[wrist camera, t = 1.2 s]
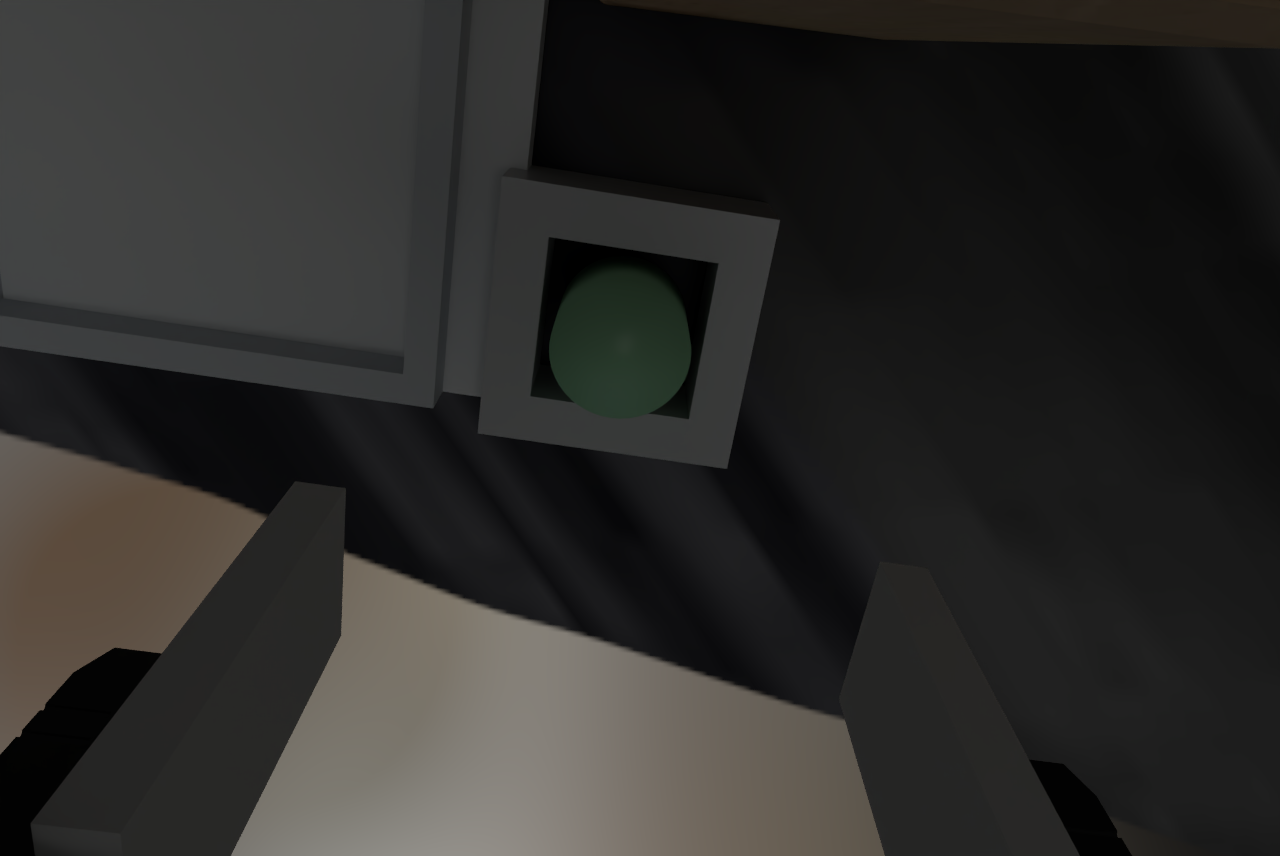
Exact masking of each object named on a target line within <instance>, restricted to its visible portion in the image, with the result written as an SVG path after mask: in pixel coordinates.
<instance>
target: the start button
mask: <svg viewBox="0 0 1280 856" xmlns="http://www.w3.org/2000/svg"><path fill="white" fill-rule="evenodd" d="M549 356H550V363H551V368H552V371H553V373H554V376H555V378H556V380H557V382H558V384H559V386H560V387H561V388H562V390H563V391H564V393H565V394H566V395H567V396H568V397H569V398H570V399H571V400H572V401H574V402H575V403H576V404H577V405H579V406H580V407H582V408H583V409H585V410H587V411H589V412H591V413H594V414H597V415H600V416H603V417H608V418H618V419H623V418H633V417H638V416H642V415H645V414H648V413H650V412H652V411H655V410H656V409H658V408H660V407H661V406H663V405H664V404H665V403H667V402H668V401H669V400H670V399H671V398H672V397H673V396H674V395H675V394H676V393H677V391H678V390H679V389H680V387H681V386H682V384H683V382H684V380H685V378H686V376H687V373H688V370H689V366H690V361H691V342H690V336H689V329H688V323H687V316H686V310H685V304H684V301H683V297H682V295H681V293H680V290H679V288H678V287H677V285H676V284H675V282H674V281H673V280H672V278H671V277H670V276H669V275H668V274H667V273H666V272H665V271H664V270H662V269H661V268H659V267H658V266H657V265H655V264H653V263H651V262H649V261H647V260H644V259H641V258H637V257H633V256H612V257H607V258H603V259H600V260H598V261H595V262H593V263H591V264H589V265H588V266H586V267H585V268H583V269H582V270H581V271H580V272H579V273H577V275H576V276H575V277H574V278H573V279H572V280H571V282H570V283H569V285H568V286H567V288H566V290H565V292H564V294H563V297H562V300H561V303H560V306H559V310H558V313H557V316H556V320H555V323H554V326H553V330H552V333H551V338H550V343H549Z"/></svg>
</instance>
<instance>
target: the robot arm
mask: <svg viewBox="0 0 1280 856" xmlns="http://www.w3.org/2000/svg"><path fill="white" fill-rule="evenodd" d="M345 496H346V488H340V487H332V486H325V485H318V484H310V483H303V482H296V481H295V483H294V484H293V485H292V486H291V488H290V489H289V490H288V492H287V493H286V494H285V495H284V497H283V498H282V499H281V501H280V502H279V503H278V505H277V506H276V507H275V508H274V510H273V511H272V512H271V514H270V515H269V516H268V517H267V519H266V520H265V521H264V523H263V524H262V525H261V527H260V528H259V529H258V530H257V532H256V533H255V534H254V536H253V537H252V538H251V539H250V541H249V542H248V543H247V545H246V546H245V547H244V548H243V550H242V551H241V552H240V554H239V555H238V556H237V557H236V559H235V560H234V561H233V563H232V564H231V565H230V566H229V568H228V569H227V570H226V572H225V573H224V574H223V576H222V577H221V578H220V579H219V581H218V582H217V584H216V585H215V586H214V587H213V588H212V590H211V591H210V592H209V594H208V595H207V596H206V598H205V599H204V600H203V601H202V603H201V604H200V605H199V607H198V608H197V609H196V610H195V612H194V613H193V614H192V616H191V617H190V618H189V620H188V621H187V622H186V623H185V625H184V626H183V627H182V628H181V630H180V631H179V632H178V634H177V635H176V636H175V638H174V639H173V640H172V641H171V643H170V644H169V645H168V647H167V648H166V649H165V650H164V652H163V653H162V654H160V653H152V652H145V651H137V650H129V649H121V648H114V649H112V650H110V651H109V652H107V653H105V654H104V655H102V656H100V657H98V658H97V659H95V660H93V661H92V662H90V663H89V664H87V665H85V666H84V667H82V668H80V669H79V670H77V671H75V672H74V673H73V674H72V675H71V676H70V677H69V678H68V679H67V680H66V681H65V683H64V684H63V685H62V686H61V687H60V688H59V689H58V690H57V692H56V693H55V694H54V695H53V696H52V697H51V699H49V701H48V702H47V703H46V705H45V709H44V710H43V711H42V710H40V711H39V712H38V713H37V714H36V715H35V716H34V718H33V719H32V720H31V721H30V722H29V723H28V724H27V725H26V726H25V728H24V729H23V730H22V734H21V736H20V737H16V738H15V739H14V740H13V741H12V742H11V743H10V744H9V746H8V747H7V748H6V749H5V750H4V751H3V752H2V753H1V754H0V856H231V854H232V852H233V850H234V848H235V846H236V844H237V842H238V840H239V838H240V836H241V834H242V832H243V830H244V828H245V826H246V824H247V822H248V820H249V818H250V816H251V814H252V812H253V810H254V808H255V806H256V804H257V802H258V800H259V798H260V796H261V794H262V792H263V790H264V788H265V786H266V784H267V782H268V780H269V778H270V776H271V774H272V772H273V770H274V768H275V766H276V764H277V762H278V760H279V758H280V756H281V754H282V752H283V750H284V748H285V746H286V744H287V742H288V740H289V738H290V736H291V734H292V732H293V730H294V728H295V726H296V724H297V722H298V720H299V718H300V716H301V714H302V712H303V710H304V708H305V706H306V704H307V702H308V700H309V698H310V696H311V694H312V692H313V690H314V688H315V686H316V684H317V682H318V680H319V678H320V676H321V674H322V672H323V670H324V668H325V666H326V664H327V662H328V660H329V658H330V656H331V654H332V652H333V650H334V648H335V646H336V644H337V642H338V640H339V638H340V636H341V618H342V587H343V558H344V527H345ZM839 701H840V705H841V708H842V711H843V715H844V718H845V721H846V725H847V728H848V732H849V735H850V738H851V742H852V745H853V748H854V752H855V755H856V759H857V762H858V766H859V769H860V772H861V775H862V779H863V782H864V785H865V789H866V792H867V796H868V799H869V803H870V806H871V809H872V813H873V816H874V819H875V823H876V827H877V830H878V833H879V836H880V840H881V843H882V847H883V850H884V854H885V856H1132V855H1131V853H1130V852H1129V850H1128V848H1127V847H1126V845H1125V844H1124V842H1123V840H1122V838H1118V837H1117V830H1116V828H1115V827H1114V825H1113V823H1112V821H1111V820H1110V818H1109V816H1108V815H1107V813H1106V811H1105V810H1104V808H1103V806H1102V805H1101V803H1100V801H1099V800H1098V798H1097V796H1096V795H1095V794H1094V793H1093V792H1092V791H1091V790H1090V789H1089V788H1087V787H1086V786H1085V785H1084V784H1083V783H1082V782H1081V781H1080V780H1079V779H1078V778H1077V777H1076V776H1075V775H1074V774H1073V773H1072V772H1071V771H1070V770H1069V769H1068V768H1067V767H1066V766H1065V765H1064V764H1059V763H1051V762H1043V761H1035V760H1029V759H1028V757H1027V755H1026V753H1025V752H1024V750H1023V748H1022V746H1021V744H1020V742H1019V740H1018V738H1017V737H1016V735H1015V733H1014V731H1013V729H1012V727H1011V725H1010V723H1009V722H1008V720H1007V718H1006V716H1005V714H1004V712H1003V710H1002V708H1001V706H1000V705H999V703H998V701H997V699H996V697H995V695H994V693H993V691H992V690H991V688H990V686H989V684H988V682H987V680H986V678H985V676H984V674H983V673H982V671H981V669H980V667H979V665H978V663H977V661H976V659H975V658H974V656H973V654H972V652H971V650H970V648H969V646H968V644H967V643H966V641H965V639H964V637H963V635H962V633H961V631H960V629H959V627H958V626H957V624H956V622H955V620H954V618H953V616H952V614H951V612H950V611H949V609H948V607H947V605H946V603H945V601H944V599H943V597H942V596H941V594H940V592H939V590H938V588H937V586H936V584H935V582H934V580H933V579H932V577H931V575H930V573H929V571H928V569H927V568H923V567H916V566H909V565H901V564H894V563H887V562H880V564H879V567H878V570H877V574H876V577H875V580H874V584H873V587H872V590H871V594H870V597H869V600H868V604H867V607H866V610H865V614H864V617H863V620H862V624H861V627H860V631H859V634H858V637H857V641H856V644H855V647H854V651H853V654H852V657H851V661H850V664H849V667H848V671H847V674H846V677H845V681H844V684H843V687H842V691H841V694H840V697H839Z"/></svg>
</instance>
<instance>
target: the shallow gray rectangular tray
mask: <svg viewBox="0 0 1280 856" xmlns="http://www.w3.org/2000/svg"><path fill="white" fill-rule="evenodd" d="M548 5H549V0H0V346H3V347H10V348H17V349H23V350H30V351H37V352H44V353H51V354H58V355H65V356H72V357H79V358H86V359H93V360H100V361H107V362H114V363H121V364H128V365H135V366H142V367H149V368H156V369H163V370H170V371H177V372H184V373H191V374H198V375H204V376H211V377H218V378H225V379H232V380H239V381H246V382H253V383H260V384H267V385H274V386H281V387H288V388H295V389H302V390H309V391H316V392H323V393H330V394H337V395H344V396H351V397H358V398H365V399H372V400H378V401H385V402H392V403H399V404H406V405H413V406H420V407H427V408H434V406H435V404H436V402H437V401H438V399H439V397H440V395H441V393H442V392H450V393H457V394H464V395H471V396H478V397H481V393H482V383H483V372H484V362H485V351H486V340H487V330H488V319H489V309H490V298H491V287H492V277H493V266H494V256H495V245H496V235H497V224H498V213H499V203H500V192H501V182H502V176H503V175H504V174H505V173H506V171H507V170H508V169H509V168H517V169H523V170H528V168H529V167H530V166H531V165H532V155H533V146H534V136H535V127H536V118H537V108H538V99H539V89H540V80H541V70H542V61H543V52H544V42H545V33H546V23H547V14H548Z"/></svg>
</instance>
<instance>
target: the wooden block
mask: <svg viewBox="0 0 1280 856" xmlns="http://www.w3.org/2000/svg"><path fill="white" fill-rule="evenodd" d="M599 1H601V2H603V3H604V4H606V5H613V6H621V7H629V8H637V9H645V10H653V11H661V12H669V13H677V14H685V15H693V16H701V17H709V18H717V19H725V20H732V21H740V22H748V23H756V24H764V25H772V26H780V27H788V28H796V29H804V30H812V31H820V32H828V33H836V34H844V35H852V36H860V37H867V38H875V39H883V40H926V41H971V42H1016V43H1061V44H1106V45H1151V46H1196V47H1242V48H1280V0H599Z"/></svg>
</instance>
